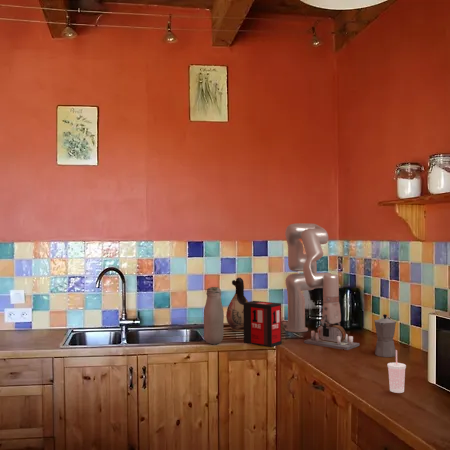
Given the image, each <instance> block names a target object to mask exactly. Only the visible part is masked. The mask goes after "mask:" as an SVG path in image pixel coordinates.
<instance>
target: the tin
mask: <svg viewBox="0 0 450 450" xmlns="http://www.w3.org/2000/svg"><path fill="white" fill-rule="evenodd" d="M326 325H327V324H326ZM328 328H329V337H326V336H323V328H322V325H321V324H320V325H319V326H317V329H316V333H319V338H320V339H321V340H323V341H328V342H334V343H337V336H341V342H343V341H344V340H345V338H346V334H347V333H346V330H345V329H344V327H343V326H341V325H334V324H330V325H329V327H328Z"/></svg>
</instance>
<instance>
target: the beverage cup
mask: <svg viewBox="0 0 450 450" xmlns="http://www.w3.org/2000/svg"><path fill="white" fill-rule="evenodd" d="M395 351H396V356H395V362H388V363H387V370H388V381H389V392H392V393H397V394H401V393H404V392H405V380H406V379H405V378H406V368H407V365H406V364H405V363H401V362H398V350H397V349H395Z"/></svg>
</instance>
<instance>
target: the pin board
mask: <svg viewBox="0 0 450 450" xmlns="http://www.w3.org/2000/svg"><path fill="white" fill-rule="evenodd" d="M304 344H307V345H313V346H320V347H326V348H333V349H338V350H343V349H344V351H349V350H352V349H354V348H357V347H359V346H360V342H354V336H352V335H349V336H348V334H347V333H346V338H345V340H344V341H343V342H341V336H337V343H334V342H328V341H323V340H321V339H320V338H319V333H317V332H316V331H315V330H311V331H310V338H308V339H306V340H305V339H304Z"/></svg>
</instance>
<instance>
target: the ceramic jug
mask: <svg viewBox="0 0 450 450" xmlns="http://www.w3.org/2000/svg"><path fill="white" fill-rule="evenodd" d="M231 284H232V286H234V287H235V293H234V295H233V296H232V298H231V300H230V302H229V304H228V307H227V310H226V312H225V313H226V314H225V315H226V316H225V317H226V322H227V324H228V325H229V326H230V328H231V329H232V331H233V332H243V333H244V303H245V302H249V300H248V299H247V297H246V296H245V284H244V280H243V278H242V277H237V278H235V279H233V280H232V281H231Z"/></svg>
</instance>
